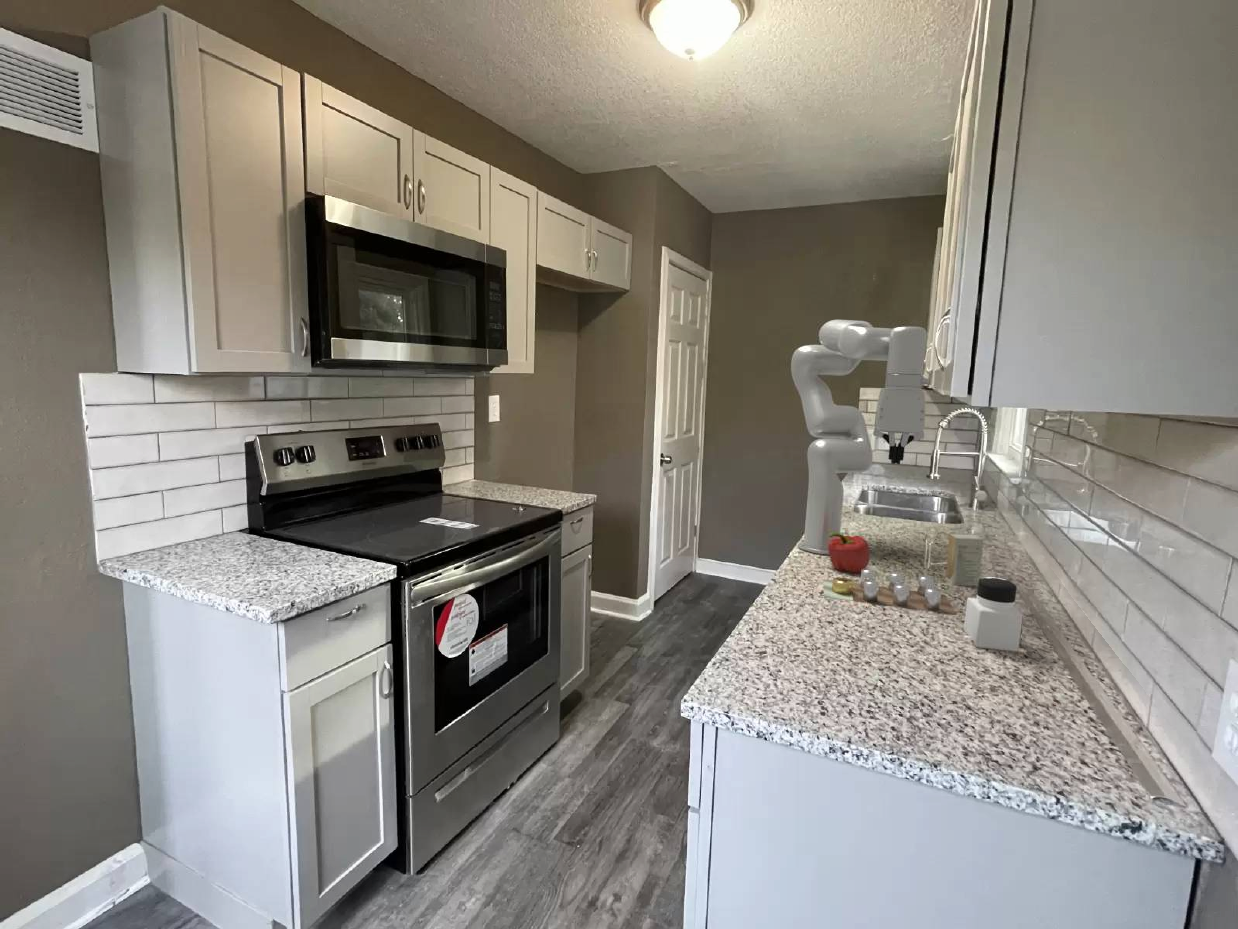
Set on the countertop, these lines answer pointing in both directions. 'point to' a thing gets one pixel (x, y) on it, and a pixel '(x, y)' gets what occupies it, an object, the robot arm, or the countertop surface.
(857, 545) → the vegetable
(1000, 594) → the medicine bottle
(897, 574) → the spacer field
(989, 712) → the countertop surface
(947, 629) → the countertop surface
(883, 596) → the board
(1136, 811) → the countertop surface
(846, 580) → the brass knob
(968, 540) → the skincare box
